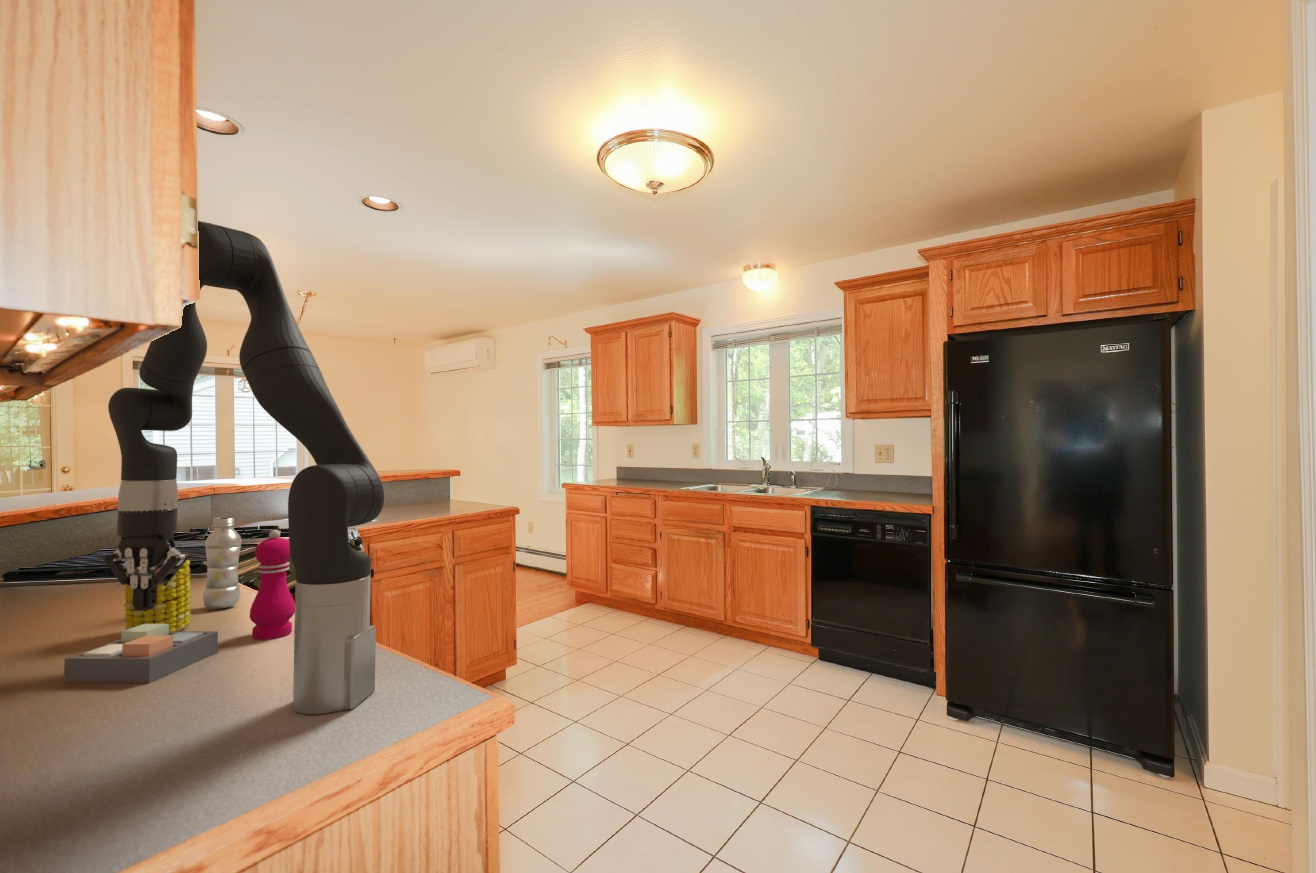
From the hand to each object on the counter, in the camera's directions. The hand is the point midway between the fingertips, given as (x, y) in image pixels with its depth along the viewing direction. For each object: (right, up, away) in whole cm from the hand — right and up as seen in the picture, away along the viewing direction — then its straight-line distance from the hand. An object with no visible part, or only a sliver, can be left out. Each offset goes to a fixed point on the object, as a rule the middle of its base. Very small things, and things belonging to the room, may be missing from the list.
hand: (144, 609), depth 94 cm
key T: (+6, -6, -6) cm, 11 cm away
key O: (+6, -8, 0) cm, 10 cm away
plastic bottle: (-11, -9, +31) cm, 34 cm away
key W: (0, -6, 0) cm, 6 cm away
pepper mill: (+13, -9, +13) cm, 20 cm away
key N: (0, -8, -6) cm, 10 cm away
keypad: (+3, -8, -3) cm, 9 cm away
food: (-10, -9, +14) cm, 19 cm away
